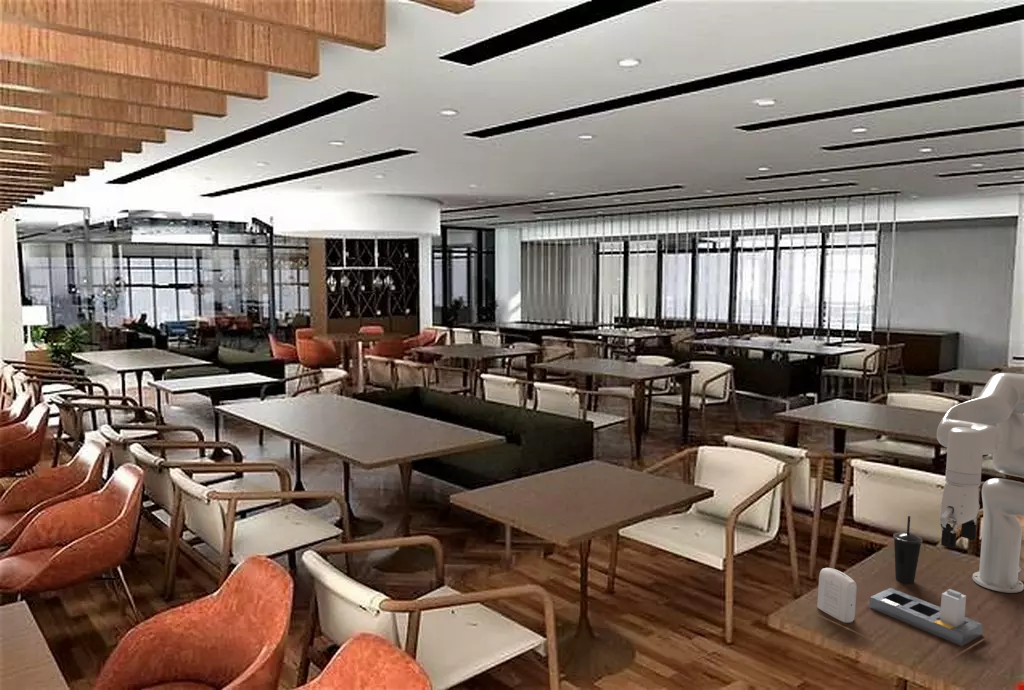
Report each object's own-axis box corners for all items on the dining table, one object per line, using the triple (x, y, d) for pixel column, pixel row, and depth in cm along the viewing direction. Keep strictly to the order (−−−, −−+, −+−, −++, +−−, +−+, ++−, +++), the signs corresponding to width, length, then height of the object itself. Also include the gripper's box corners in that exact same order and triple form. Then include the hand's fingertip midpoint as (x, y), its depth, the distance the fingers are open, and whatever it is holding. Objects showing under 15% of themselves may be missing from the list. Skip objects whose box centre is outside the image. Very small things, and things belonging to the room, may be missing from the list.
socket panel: (889, 599, 206) (890, 587, 205) (981, 636, 186) (982, 622, 186) (869, 608, 201) (870, 596, 200) (961, 647, 181) (962, 633, 180)
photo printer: (857, 621, 193) (859, 577, 192) (845, 625, 192) (848, 580, 190) (825, 605, 203) (828, 562, 201) (814, 608, 201) (816, 565, 199)
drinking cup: (923, 587, 213) (927, 522, 210) (894, 585, 214) (899, 520, 212) (914, 576, 220) (918, 512, 218) (887, 574, 222) (891, 511, 219)
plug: (947, 626, 190) (950, 586, 189) (963, 632, 187) (966, 592, 185) (939, 630, 188) (941, 590, 187) (955, 637, 185) (958, 596, 183)
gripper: (964, 467, 190) (959, 530, 192) (929, 479, 181) (924, 545, 183) (996, 474, 184) (990, 539, 186) (961, 487, 175) (956, 555, 177)
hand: (958, 542), depth 185 cm, fingers open, 9 cm apart
